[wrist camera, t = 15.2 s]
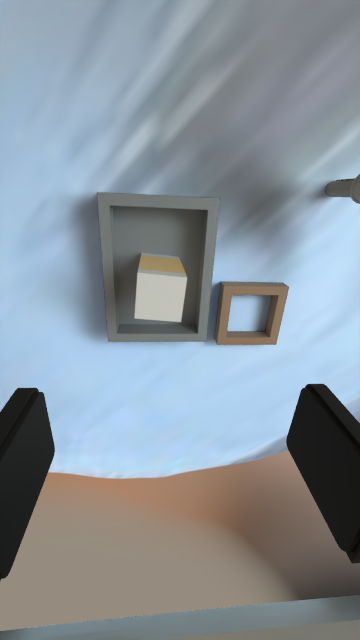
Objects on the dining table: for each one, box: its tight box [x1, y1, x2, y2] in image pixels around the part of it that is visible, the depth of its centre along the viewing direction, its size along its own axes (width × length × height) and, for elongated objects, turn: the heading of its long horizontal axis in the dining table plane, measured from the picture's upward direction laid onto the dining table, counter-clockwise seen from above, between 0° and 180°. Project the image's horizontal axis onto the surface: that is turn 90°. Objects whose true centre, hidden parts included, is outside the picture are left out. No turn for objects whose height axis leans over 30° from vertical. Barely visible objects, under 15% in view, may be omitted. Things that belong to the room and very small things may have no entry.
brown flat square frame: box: [214, 282, 289, 345], centre depth 33 cm, size 8×8×2 cm
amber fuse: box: [134, 253, 187, 322], centre depth 26 cm, size 4×4×8 cm
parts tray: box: [97, 192, 220, 342], centre depth 29 cm, size 15×11×3 cm
